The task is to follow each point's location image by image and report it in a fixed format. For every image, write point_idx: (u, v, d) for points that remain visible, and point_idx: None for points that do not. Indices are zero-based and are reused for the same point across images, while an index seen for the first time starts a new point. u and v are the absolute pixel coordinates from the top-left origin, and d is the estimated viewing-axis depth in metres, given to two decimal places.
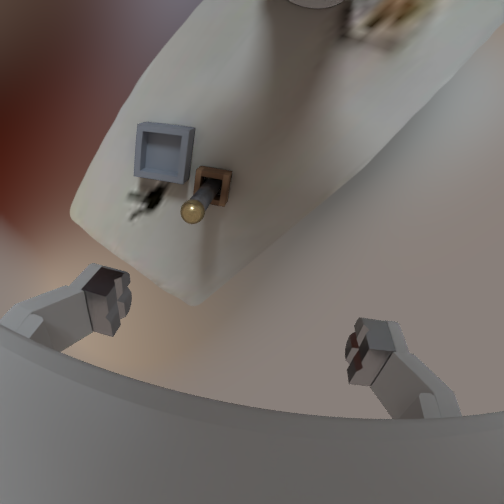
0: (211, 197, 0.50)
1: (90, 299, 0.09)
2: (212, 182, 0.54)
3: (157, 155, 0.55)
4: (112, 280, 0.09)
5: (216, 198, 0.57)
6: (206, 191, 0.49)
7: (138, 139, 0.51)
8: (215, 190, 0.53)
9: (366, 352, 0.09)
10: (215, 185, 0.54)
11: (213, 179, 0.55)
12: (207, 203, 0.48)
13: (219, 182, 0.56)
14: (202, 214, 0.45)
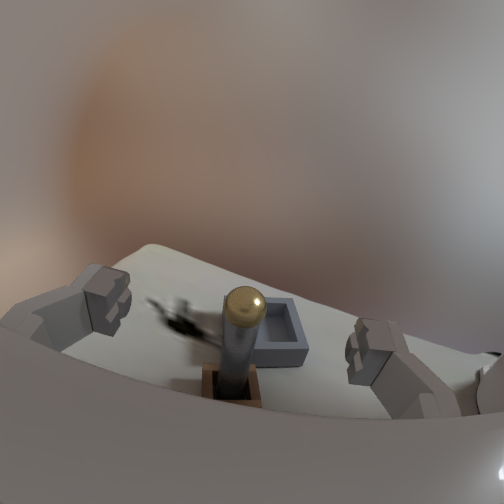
0: (242, 365, 0.28)
1: (90, 299, 0.09)
2: (245, 383, 0.31)
3: None
4: (112, 280, 0.09)
5: None
6: (252, 355, 0.28)
7: (274, 299, 0.45)
8: (240, 383, 0.29)
9: (366, 352, 0.09)
10: (243, 386, 0.30)
11: None
12: (246, 345, 0.26)
13: None
14: (250, 315, 0.24)
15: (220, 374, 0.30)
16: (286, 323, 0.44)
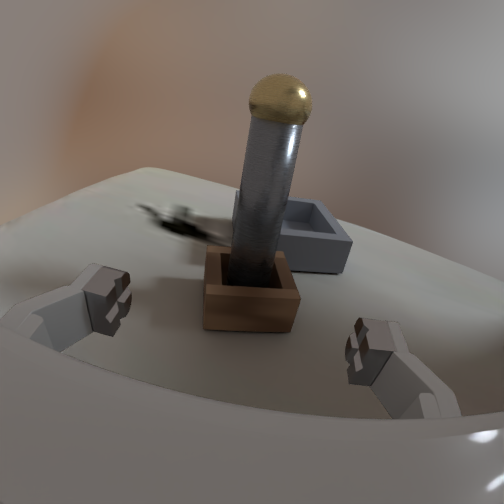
0: (273, 207, 0.18)
1: (90, 299, 0.09)
2: None
3: None
4: (112, 280, 0.09)
5: None
6: (287, 197, 0.19)
7: (299, 199, 0.35)
8: (266, 253, 0.20)
9: (366, 352, 0.09)
10: (270, 264, 0.21)
11: None
12: (282, 161, 0.17)
13: None
14: (292, 94, 0.15)
15: (236, 237, 0.20)
16: (315, 226, 0.34)
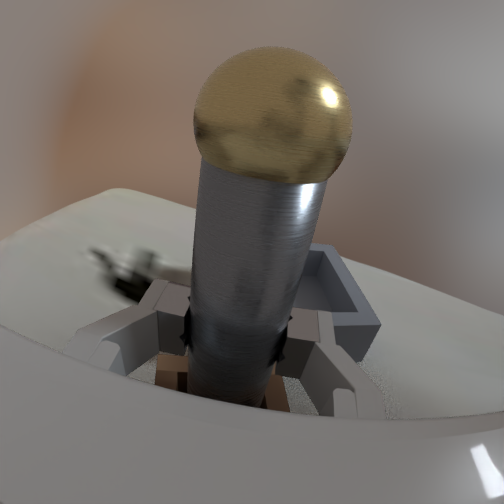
0: (256, 355, 0.09)
1: (163, 319, 0.09)
2: None
3: None
4: (185, 297, 0.09)
5: None
6: None
7: None
8: None
9: (285, 341, 0.09)
10: None
11: None
12: (275, 275, 0.07)
13: None
14: (304, 101, 0.05)
15: (190, 383, 0.10)
16: (325, 286, 0.24)
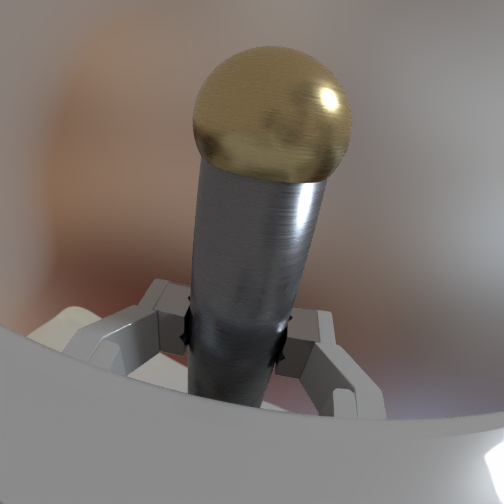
0: (256, 354, 0.09)
1: (164, 319, 0.09)
2: None
3: None
4: (185, 297, 0.09)
5: None
6: None
7: None
8: None
9: (285, 341, 0.09)
10: None
11: None
12: (275, 274, 0.07)
13: None
14: (303, 100, 0.05)
15: (191, 383, 0.10)
16: None
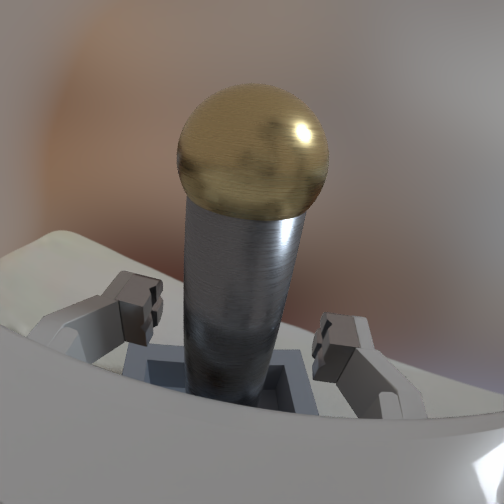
0: (246, 371, 0.09)
1: (125, 309, 0.09)
2: None
3: None
4: (147, 289, 0.09)
5: None
6: None
7: None
8: None
9: (327, 347, 0.09)
10: None
11: None
12: (258, 302, 0.08)
13: None
14: (276, 144, 0.06)
15: None
16: None
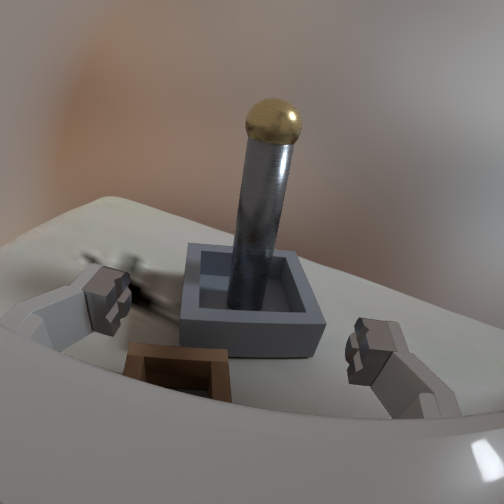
0: (269, 217, 0.21)
1: (90, 299, 0.09)
2: None
3: None
4: (112, 280, 0.09)
5: None
6: None
7: None
8: (264, 258, 0.22)
9: (366, 352, 0.09)
10: (267, 267, 0.23)
11: None
12: (276, 177, 0.19)
13: (259, 299, 0.24)
14: (283, 118, 0.17)
15: (236, 245, 0.22)
16: (285, 288, 0.28)
